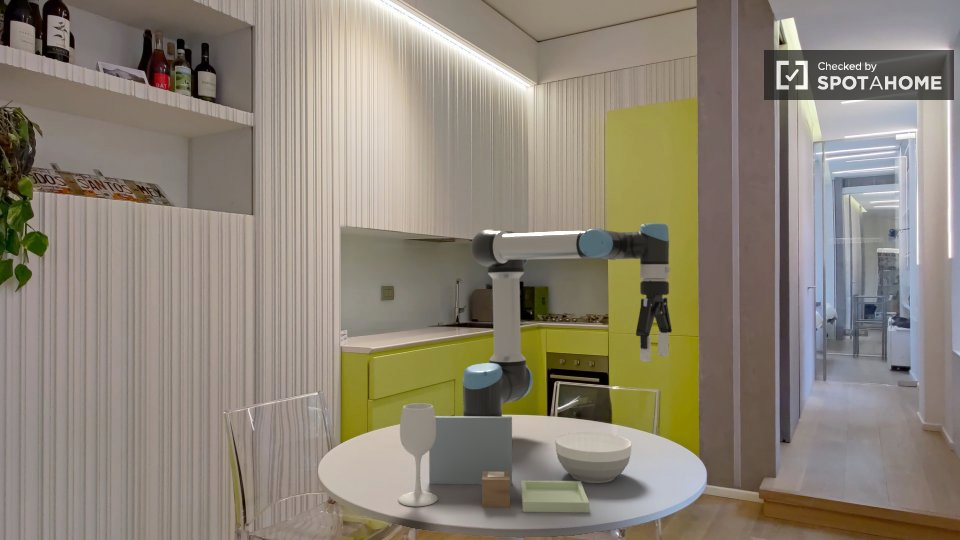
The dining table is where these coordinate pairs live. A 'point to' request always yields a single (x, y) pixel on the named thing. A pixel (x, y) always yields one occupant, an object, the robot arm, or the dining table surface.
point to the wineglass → (418, 446)
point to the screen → (470, 448)
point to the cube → (495, 489)
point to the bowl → (593, 455)
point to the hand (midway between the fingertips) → (654, 358)
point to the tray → (553, 496)
